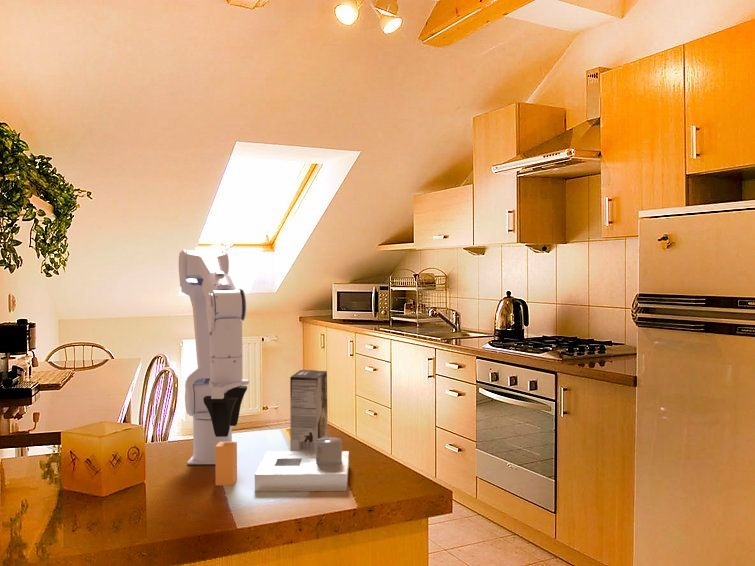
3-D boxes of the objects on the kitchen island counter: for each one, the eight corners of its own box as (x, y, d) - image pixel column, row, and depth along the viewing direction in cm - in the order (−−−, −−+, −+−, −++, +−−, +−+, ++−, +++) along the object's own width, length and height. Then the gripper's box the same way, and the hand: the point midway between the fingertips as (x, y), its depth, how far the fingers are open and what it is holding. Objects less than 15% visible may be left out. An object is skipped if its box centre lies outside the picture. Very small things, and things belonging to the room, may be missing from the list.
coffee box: (300, 440, 146) (300, 369, 145) (328, 441, 145) (328, 370, 144) (289, 452, 136) (288, 376, 136) (318, 453, 136) (318, 376, 135)
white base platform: (267, 466, 126) (267, 431, 126) (348, 466, 127) (348, 430, 127) (254, 491, 112) (254, 451, 112) (346, 490, 113) (346, 451, 113)
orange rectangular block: (219, 479, 119) (219, 441, 119) (237, 479, 119) (236, 441, 119) (215, 485, 116) (215, 446, 116) (233, 485, 116) (233, 446, 116)
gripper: (240, 361, 110) (240, 441, 110) (255, 350, 124) (255, 421, 124) (198, 362, 109) (199, 441, 110) (218, 350, 124) (218, 421, 124)
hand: (226, 430), depth 117 cm, fingers open, 7 cm apart
